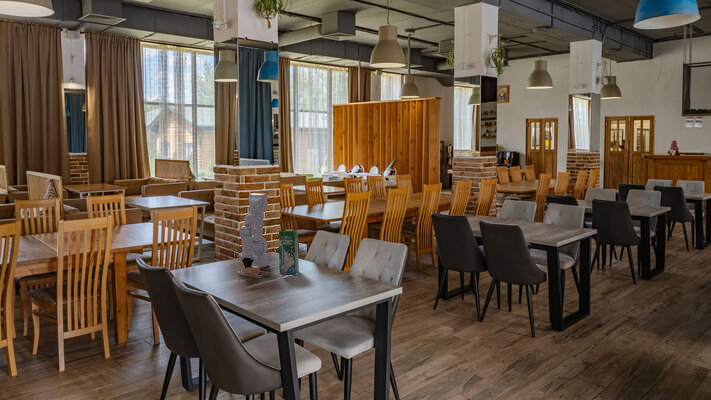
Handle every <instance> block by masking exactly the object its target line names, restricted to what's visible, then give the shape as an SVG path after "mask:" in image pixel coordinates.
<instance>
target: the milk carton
mask: <svg viewBox="0 0 711 400" xmlns="http://www.w3.org/2000/svg"><path fill="white" fill-rule="evenodd" d="M278 255H279V256H278V257H279V258H278V259H279V260H278V261H279V274H286V276H296V275H297V274H298V273H299V272H300V269H299V266H300V265H299V264H300V263H299V261H300V258H299V232H298V231H296V230H293V229H290V228H289V229H288V228H287V229H285V230H278Z"/></svg>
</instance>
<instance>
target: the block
mask: <svg viewBox="0 0 711 400" xmlns="http://www.w3.org/2000/svg"><path fill="white" fill-rule="evenodd" d="M260 271H261V268H260V267H258V266H251V267H247V268H246V269H245V273H250V274H255V275H261V274H260Z"/></svg>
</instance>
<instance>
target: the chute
mask: <svg viewBox="0 0 711 400" xmlns="http://www.w3.org/2000/svg"><path fill="white" fill-rule="evenodd" d="M236 274H237V275H239V276H246V277H251V278H256V279H262V278H267V277H269V276H272V272H269V271H262V270H260V274H258V275H255V274H250V273H246V271H239V270H238V271H236Z"/></svg>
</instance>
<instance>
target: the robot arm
mask: <svg viewBox="0 0 711 400" xmlns="http://www.w3.org/2000/svg"><path fill="white" fill-rule="evenodd" d="M248 204H249V209H248V214H246V215H245V217H244V221H243V225H242V226H241V227H239V228H240V229H239V235H240V240H241V248H242V251H241V252H240V253H239V252H238V253H237V258H242V259H241V262H242V263H243V266H244V270H246V268H247V267H251V266H258V267H260V269H262V268H265V267H268V266H269V265H270V264H269V263H270V262H269V254H268V253H267V251H268V243H267V242H268V241H267V239H266V238H265V237H263V233H264V230H263V229H264V218H265V217H264V216H265V209H267V208H268V195H267V194H266V193H249V195H248Z"/></svg>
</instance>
